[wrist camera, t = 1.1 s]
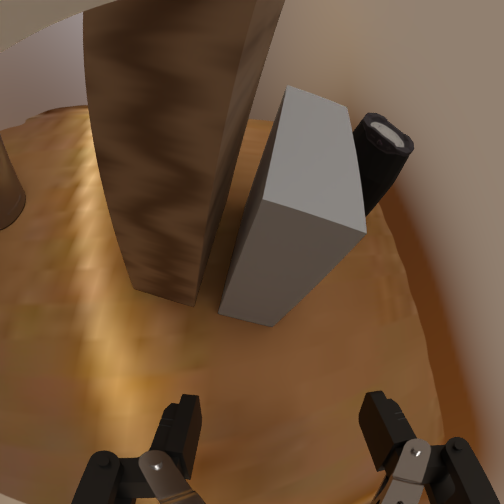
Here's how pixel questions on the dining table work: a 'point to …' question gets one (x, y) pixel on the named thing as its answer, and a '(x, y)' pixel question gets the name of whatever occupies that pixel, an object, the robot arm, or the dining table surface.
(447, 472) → the robot arm
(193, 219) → the walnut pedestal
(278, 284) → the grey stand
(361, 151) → the portable speaker
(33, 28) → the cream bar
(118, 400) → the dining table surface
